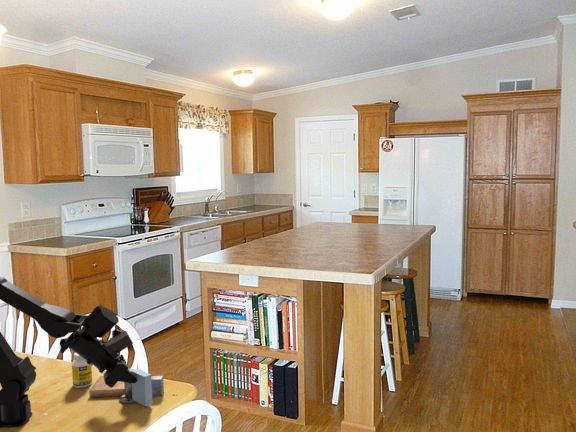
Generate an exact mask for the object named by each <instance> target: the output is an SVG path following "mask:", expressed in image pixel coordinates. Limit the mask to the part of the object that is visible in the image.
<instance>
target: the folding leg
mask: <svg viewBox="0 0 576 432" xmlns="http://www.w3.org/2000/svg"><path fill="white" fill-rule="evenodd" d="M128 369H129V371H130V372H131V373H132V374H133V375H134V377H135V378H136V379H137V381H136V383H132V400H134V401H136V402H135V403H137V404H140V405H142V406H144V407H148V406H150V405H153V397H152V384H151V378H152V374H151V373H148V372H146V371H144V370H142V369H139V368H132V367H130V368H128Z"/></svg>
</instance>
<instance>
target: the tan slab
mask: <svg viewBox="0 0 576 432" xmlns="http://www.w3.org/2000/svg"><path fill="white" fill-rule="evenodd" d="M88 392H89V393H88V394H89V395H88V396H89V398H101V397H103V398H105V397H119V402H120V403H121V404H133V403H137V402H136V401H134V400H132V383H128V382H120V381H118V382H117V383H116V384H115V385H114V386H113V387H112V388H110V387H109V386H107V385H106V384H105V381H104V375H99V377H98V378H97V380H96V381H95V382H94V383H93V385H92V387H90V389H89V390H88Z"/></svg>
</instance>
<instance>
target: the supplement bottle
mask: <svg viewBox="0 0 576 432" xmlns="http://www.w3.org/2000/svg"><path fill="white" fill-rule="evenodd" d="M73 358H74V359H73V361H72V362H71V371H72V375H71V377H72V386H73V387H74V388H77V389H82V388H86V387H88V386H90V385H92V384H93V371H92V364H90V365H89V364H88V363H86V360H85V359H84V358H82V357H81V356H80V355H78V354H77V353H75V352H74V353H73Z"/></svg>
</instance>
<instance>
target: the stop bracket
mask: <svg viewBox="0 0 576 432" xmlns="http://www.w3.org/2000/svg"><path fill="white" fill-rule="evenodd" d="M151 384H152V398H153V397H154V398H156V397H163V395H164V393H165V389H164V388H165V386H164V375H151Z"/></svg>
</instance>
